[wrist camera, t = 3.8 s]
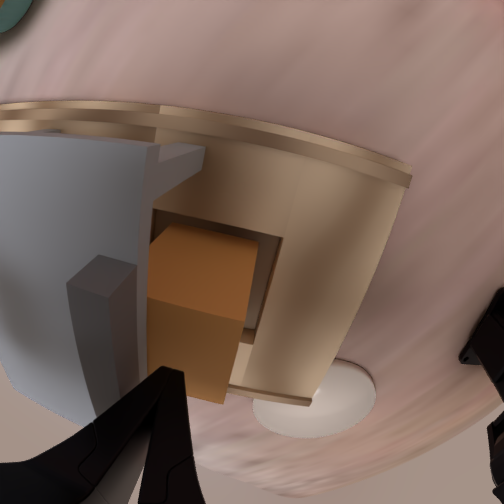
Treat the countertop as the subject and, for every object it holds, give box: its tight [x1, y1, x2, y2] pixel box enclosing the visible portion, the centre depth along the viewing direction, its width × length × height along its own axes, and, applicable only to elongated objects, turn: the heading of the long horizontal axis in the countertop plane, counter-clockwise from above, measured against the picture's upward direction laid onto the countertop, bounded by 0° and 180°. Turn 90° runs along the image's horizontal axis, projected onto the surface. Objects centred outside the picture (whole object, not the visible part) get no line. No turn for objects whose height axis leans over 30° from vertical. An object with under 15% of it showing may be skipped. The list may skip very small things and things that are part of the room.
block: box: [146, 222, 259, 404], centre depth 13 cm, size 4×4×6 cm
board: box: [0, 101, 412, 407], centre depth 15 cm, size 27×16×2 cm, turn 78°
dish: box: [253, 359, 376, 438], centre depth 20 cm, size 9×9×1 cm
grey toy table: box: [0, 129, 206, 427], centre depth 11 cm, size 9×14×8 cm, turn 168°
